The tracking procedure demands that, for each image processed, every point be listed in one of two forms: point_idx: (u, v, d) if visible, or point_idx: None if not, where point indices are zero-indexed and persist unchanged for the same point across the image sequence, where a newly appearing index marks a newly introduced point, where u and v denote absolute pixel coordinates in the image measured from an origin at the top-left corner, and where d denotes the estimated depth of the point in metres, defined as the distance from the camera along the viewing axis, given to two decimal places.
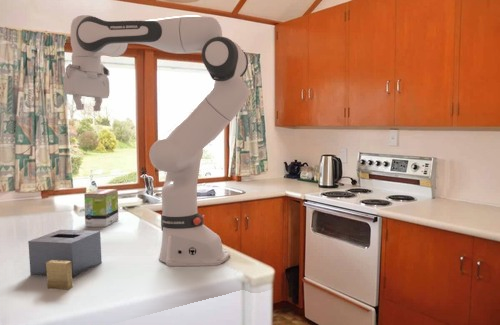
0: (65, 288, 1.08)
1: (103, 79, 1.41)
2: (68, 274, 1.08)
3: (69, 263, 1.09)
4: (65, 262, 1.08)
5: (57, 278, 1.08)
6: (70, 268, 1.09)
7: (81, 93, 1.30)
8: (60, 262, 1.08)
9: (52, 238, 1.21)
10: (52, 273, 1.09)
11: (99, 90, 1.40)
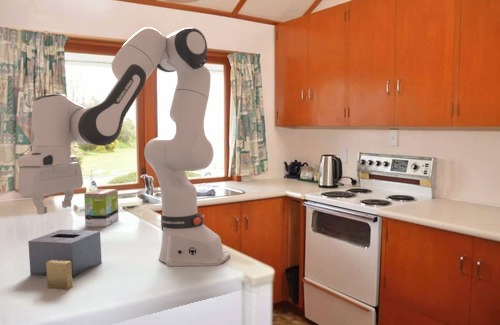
0: (65, 288, 1.08)
1: None
2: (68, 274, 1.08)
3: (69, 263, 1.09)
4: (65, 262, 1.08)
5: (57, 278, 1.08)
6: (70, 268, 1.09)
7: None
8: (60, 262, 1.08)
9: (52, 238, 1.21)
10: (52, 273, 1.09)
11: None
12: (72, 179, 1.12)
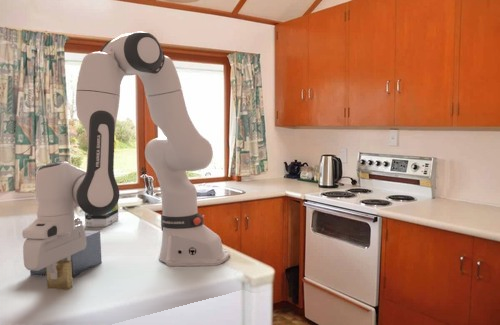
0: (65, 288, 1.08)
1: None
2: (68, 274, 1.08)
3: (69, 263, 1.09)
4: (65, 262, 1.08)
5: (57, 278, 1.08)
6: (70, 268, 1.09)
7: None
8: (60, 262, 1.08)
9: None
10: None
11: None
12: (76, 242, 1.14)
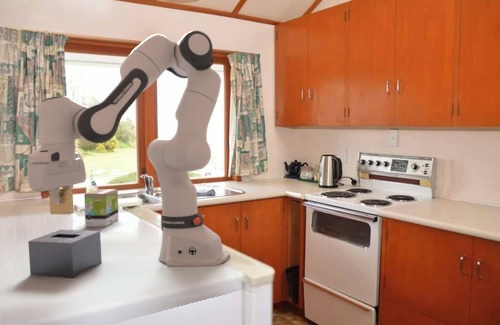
0: (67, 213, 1.17)
1: None
2: (70, 200, 1.17)
3: (70, 190, 1.17)
4: (67, 189, 1.17)
5: (59, 204, 1.17)
6: (71, 195, 1.18)
7: None
8: (62, 189, 1.17)
9: (52, 238, 1.21)
10: None
11: None
12: (77, 173, 1.22)
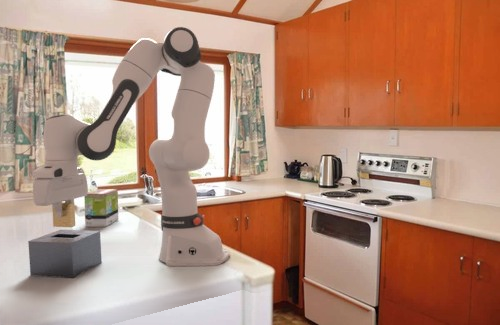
0: (69, 226, 1.22)
1: None
2: (72, 213, 1.23)
3: (72, 204, 1.23)
4: (69, 203, 1.23)
5: (61, 217, 1.23)
6: (73, 208, 1.23)
7: None
8: (64, 203, 1.23)
9: (52, 238, 1.21)
10: None
11: None
12: (79, 187, 1.28)
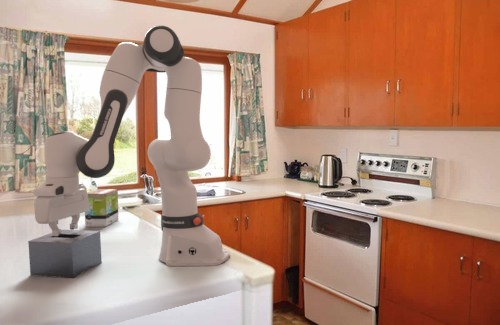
0: None
1: None
2: None
3: None
4: None
5: None
6: None
7: None
8: None
9: (52, 238, 1.21)
10: None
11: None
12: (80, 203, 1.28)
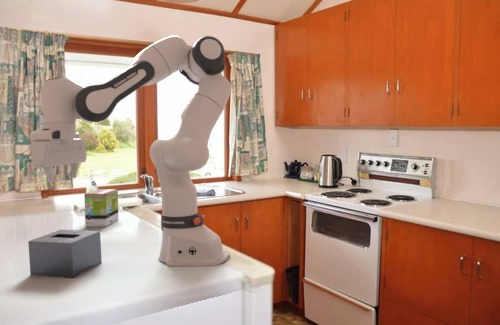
0: None
1: None
2: None
3: None
4: None
5: None
6: None
7: None
8: None
9: (52, 238, 1.21)
10: None
11: None
12: (77, 153, 1.27)
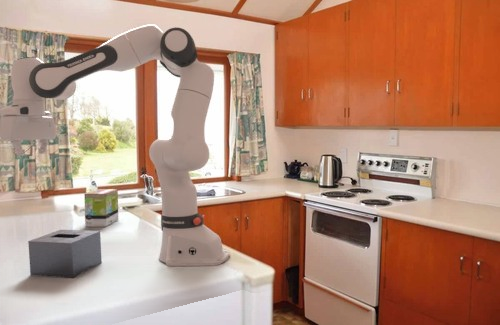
0: None
1: None
2: None
3: None
4: None
5: None
6: None
7: None
8: None
9: (52, 238, 1.21)
10: None
11: None
12: (47, 130, 1.36)
